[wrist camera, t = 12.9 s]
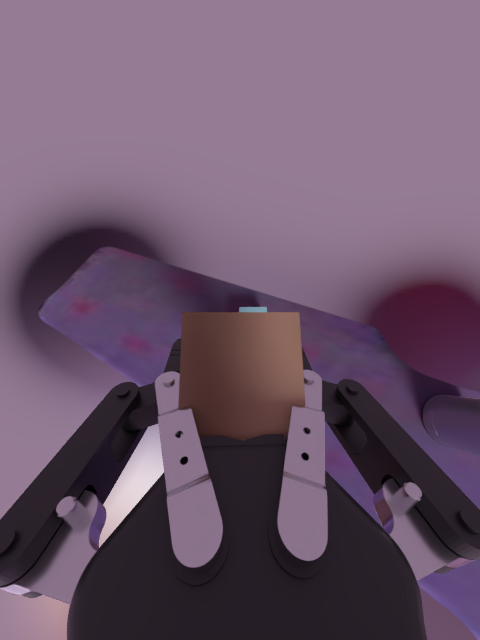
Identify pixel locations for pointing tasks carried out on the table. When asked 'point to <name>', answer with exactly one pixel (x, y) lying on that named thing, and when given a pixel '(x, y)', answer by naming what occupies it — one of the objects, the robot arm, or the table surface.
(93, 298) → the table surface
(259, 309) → the teal cube
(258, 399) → the tan long block
